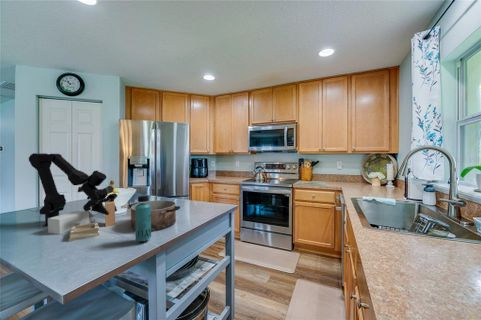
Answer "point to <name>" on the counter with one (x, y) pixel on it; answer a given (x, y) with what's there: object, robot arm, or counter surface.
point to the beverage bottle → (143, 219)
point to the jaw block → (110, 214)
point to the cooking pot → (158, 214)
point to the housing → (84, 231)
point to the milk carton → (68, 221)
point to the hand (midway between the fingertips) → (112, 212)
